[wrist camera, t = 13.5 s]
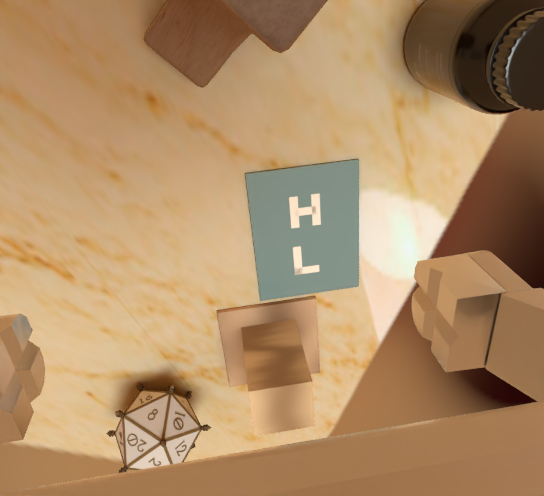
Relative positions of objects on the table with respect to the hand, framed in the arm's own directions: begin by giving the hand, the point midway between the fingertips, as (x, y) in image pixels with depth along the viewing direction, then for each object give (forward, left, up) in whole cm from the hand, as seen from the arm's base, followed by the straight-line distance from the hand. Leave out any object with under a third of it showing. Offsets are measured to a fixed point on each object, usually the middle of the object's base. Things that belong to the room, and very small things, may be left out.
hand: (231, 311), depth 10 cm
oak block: (+2, -24, -27) cm, 36 cm away
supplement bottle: (+17, +1, -27) cm, 32 cm away
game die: (-9, -29, -27) cm, 41 cm away
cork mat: (+2, -24, -27) cm, 36 cm away
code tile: (+6, -13, -27) cm, 30 cm away
